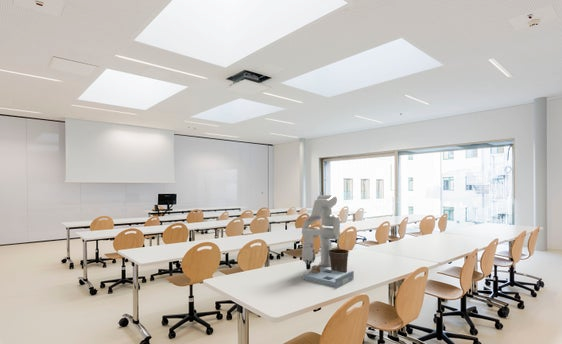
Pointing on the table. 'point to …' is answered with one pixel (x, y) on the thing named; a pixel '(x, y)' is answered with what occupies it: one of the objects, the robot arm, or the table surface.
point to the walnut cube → (315, 269)
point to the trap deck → (329, 277)
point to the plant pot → (338, 259)
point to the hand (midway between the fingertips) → (308, 269)
